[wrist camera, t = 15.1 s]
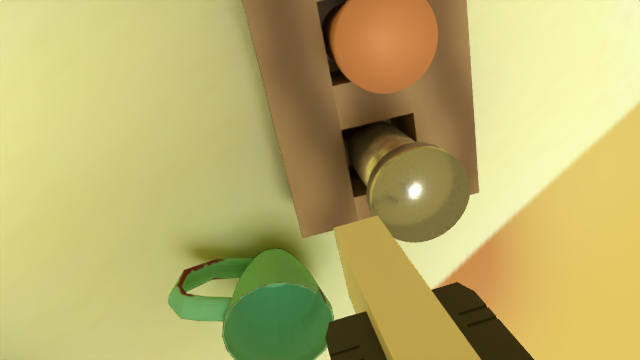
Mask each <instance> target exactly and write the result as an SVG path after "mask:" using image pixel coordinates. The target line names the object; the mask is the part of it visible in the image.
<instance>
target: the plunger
mask: <svg viewBox="0 0 640 360" xmlns="http://www.w3.org/2000/svg"><path fill="white" fill-rule="evenodd" d="M348 157H349V160H350V163H351V164H352V166H353V168H354V169H355V171H356V172H357V173H358V175H359V176H360V178H361V179H362V181H363V182H364V184H365V185H366V187H367V192H366V195H367V202H368V206H369V208H370V210H371V212H372V214H373V215H374V216H377V215H378V217H379V218H380V219H381V221H382V222H383V224H384V225H385V226H386V228H387V229H388V231H389V232H390V233H391V235H392V236H393V238H396V239H398V240H401V241H405V242H423V241H428V240H431V239H434V238H436V237H438V236H440V235H442V234H444V233H445V232H447V231H448V230H449V229H450V228H451V227H453V226H454V225H455V224H456V222H457V221H458V220H459V219H460V217H461V216H462V214H463V213H464V211H465V209H466V206H467V204H468V200H469V195H470V182H469V177H468V174H467V172H466V170H465V168H464V166H463V165H462V164H461V163H460V161H459V160H458V159H456V158H455V157H454V156H452V155H451V154H450V153H448V152H447V151H445V150H444V149H442V148H440V147H439V146H437V145H434V144H431V143H427V142H415V141H413V140H412V139H411V138H410V137H408V136H407V135H406V134H404V133H403V132H402V131H400V130H399V129H398V128H396V127H395V126H394V125H392V124H390V123H388V122H384V121H377V122H373V123H369V124H365V125H363V126H361V127H360V128H359V129H358V130H357V131H356V132H355V133H354V134H353V136H352V138H351V140H350V142H349V146H348Z"/></svg>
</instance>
